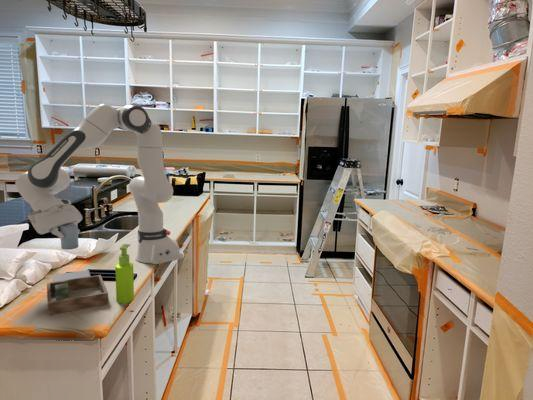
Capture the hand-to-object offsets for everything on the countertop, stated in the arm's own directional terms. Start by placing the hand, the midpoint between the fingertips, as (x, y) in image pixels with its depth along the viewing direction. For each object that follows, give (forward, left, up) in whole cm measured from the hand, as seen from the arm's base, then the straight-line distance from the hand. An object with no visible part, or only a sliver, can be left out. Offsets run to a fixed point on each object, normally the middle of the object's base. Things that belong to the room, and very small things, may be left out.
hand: (70, 235), depth 140 cm
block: (+4, +14, -19) cm, 24 cm away
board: (0, 0, -19) cm, 19 cm away
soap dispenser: (-15, +26, -19) cm, 35 cm away
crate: (0, +18, -19) cm, 26 cm away
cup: (+1, 0, -5) cm, 5 cm away
